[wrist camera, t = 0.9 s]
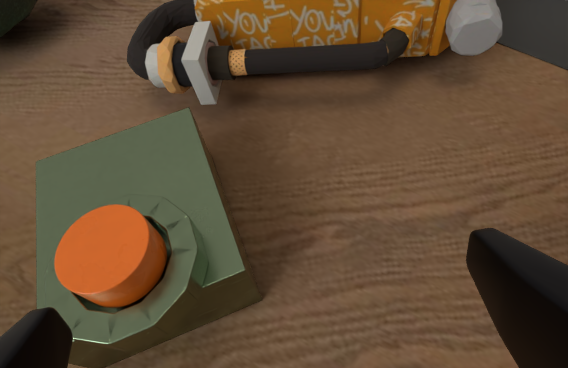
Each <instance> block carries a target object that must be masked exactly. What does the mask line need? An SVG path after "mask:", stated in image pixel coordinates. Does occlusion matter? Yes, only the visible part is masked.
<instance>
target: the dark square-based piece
mask: <svg viewBox="0 0 568 368" xmlns="http://www.w3.org/2000/svg"><path fill="white" fill-rule="evenodd" d="M496 3H497V6H498V7H499V10H500V13H501V20H502V36H501V37H500V38H499V40H498V41H497V42H498V43H500V44H503V45H505V46H508V47H510V48H513V49H516V50H518V51H521V52H523V53H526V54H528V55H531V56H534V57H536V58H539V59H541V60H544V61H546V62H549V63H552V64H554V65H557V66H559V67H562V68H564V69H567V70H568V0H496Z"/></svg>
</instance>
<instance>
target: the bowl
mask: <svg viewBox="0 0 568 368" xmlns="http://www.w3.org/2000/svg"><path fill="white" fill-rule="evenodd" d="M36 1H37V0H0V37H2V36H3V35H4V34H5V33H7V32H8V31H10V30H11V29H12V28H13V27H14V26H15V25H16V24H18V23H19V22H20V21H22V20H24V19H25V18H27V17H28V16H29V14H30V13H31V11H32V9H33V7H34V5H35V4H36Z"/></svg>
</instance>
